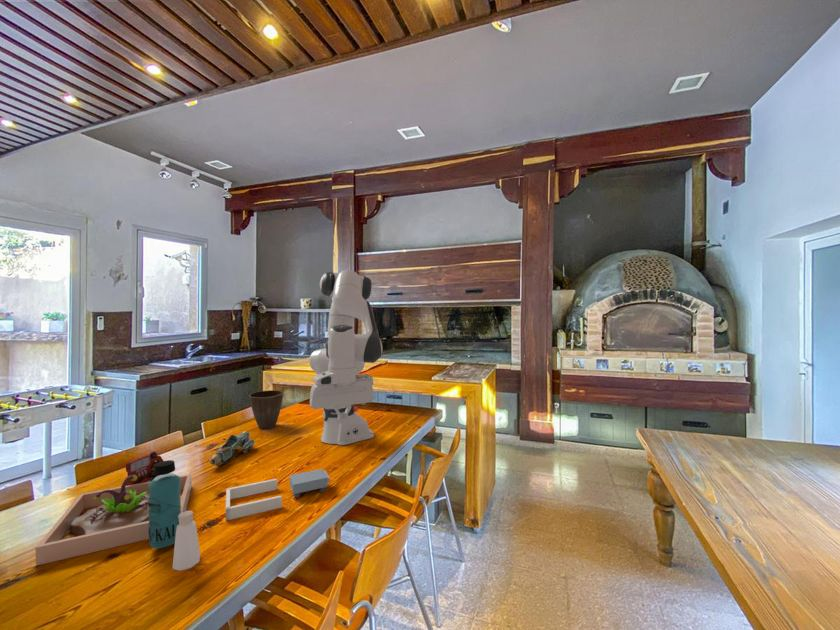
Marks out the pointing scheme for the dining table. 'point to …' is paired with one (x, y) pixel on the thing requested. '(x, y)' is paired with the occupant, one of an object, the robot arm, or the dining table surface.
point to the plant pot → (266, 407)
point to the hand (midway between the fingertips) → (342, 419)
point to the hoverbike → (232, 447)
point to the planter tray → (71, 547)
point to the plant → (113, 511)
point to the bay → (252, 506)
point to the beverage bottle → (164, 505)
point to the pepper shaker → (186, 543)
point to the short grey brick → (309, 481)
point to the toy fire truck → (143, 468)
